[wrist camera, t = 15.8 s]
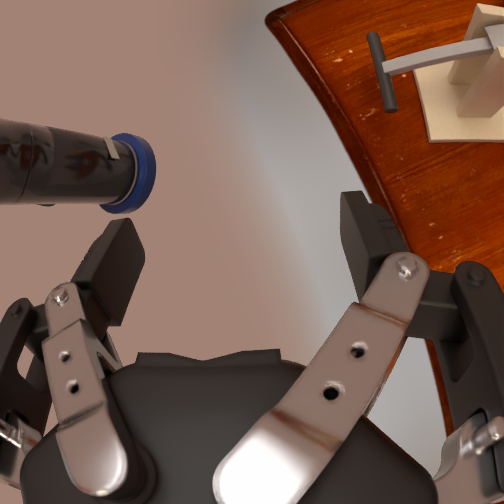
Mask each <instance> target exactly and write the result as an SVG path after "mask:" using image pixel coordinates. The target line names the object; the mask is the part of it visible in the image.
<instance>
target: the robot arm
mask: <svg viewBox="0 0 504 504" xmlns="http://www.w3.org/2000/svg"><path fill="white" fill-rule="evenodd" d="M138 176H139V159H138V155H137V153H136V151H135V149H134V148H133V146H132V145H130V144H129V143H127V142H124V141H116V140H112V139H111V138H108V137H104V138H103V137H98V136H94V135H89V134H84V133H79V132H74V131H69V130H64V129H58V128H53V127H47V126H41V125H35V124H29V123H23V122H17V121H12V120H7V119H1V118H0V205H13V204H14V205H15V204H16V205H19V204H38V205H42V206H53V205H55V204H108V205H118V204H121V203H123V202H124V201H126V200H127V199H128V198H129V197H130V195H131V194H132V192H133V191H134V189H135V186H136V184H137V181H138ZM340 201H341V202H340V209H341V210H340V235H341V242H342V246H343V249H344V252H345V255H346V259H347V262H348V265H349V268H350V272H351V275H352V279H353V282H354V286H355V289H356V292H357V296H358V300H359V303H356V302H353V303H352V304H351V305H350V306H349V308H348V309H347V310H346V312H345V313H344V315H343V316H342V318H341V319H340V321H339V322H338V324H337V325H336V327H335V328H334V330H333V331H332V333H331V334H330V335H329V337H328V338H327V340H326V341H325V343H324V344H323V345H322V347H321V348H320V349H319V351H318V352H317V354H316V355H315V356H314V358H313V359H312V361H311V362H310V363H309V365H308V366H304V365H301V364H299V363H296V362H292V361H288V360H282V359H281V354H280V349H269V350H253V351H241V352H237V353H233V354H229V355H225V356H221V357H218V358H213V359H210V360H205V361H201V360H196V359H192V358H187V357H184V356H179V355H175V354H171V353H141V352H138V355H137V358H136V362H135V363H133V364H130V365H127V366H125V367H123V365H122V363H121V360H120V358H119V356H118V353H117V351H116V349H115V346H114V344H113V342H112V339H111V337H110V335H109V334H108V332H107V328H108V326H121V323H122V321H123V318H124V315H125V312H126V309H127V307H128V304H129V301H130V299H131V296H132V293H133V291H134V288H135V286H136V283H137V281H138V278H139V275H140V273H141V270H142V268H143V266H144V263H145V252H144V248H143V246H142V243H141V241H140V239H139V236H138V234H137V232H136V229H135V227H134V224H133V222H132V220H131V219H130V218H123V219H117V220H112V221H110V223H109V224H108V226H107V227H106V229H105V230H104V232H103V234H102V235H101V236H100V237H99V238H97V240H95V241H94V242H93V244H92V245H91V247H90V249H89V250H88V253H87V254H86V255H85V257H84V260H82V262H81V264H80V265H79V267H78V269H77V270H76V272H75V274H74V276H73V278H72V279H71V281H70V282H66V283H63V284H60V285H59V286H57V287H56V288H54V289H53V290H52V291H51V292H50V293H49V295H48V296H47V298H46V301H45V303H44V304H41V305H39V306H36V307H34V306H33V305H32V304H31V302H30V301H29V300H28V299H27V298H21V299H19V300H17V301H15V302H14V303H13V304H12V305H11V306H10V307H9V308H8V310H7V311H6V313H5V315H4V317H3V319H2V321H1V323H0V482H1V483H3V484H8V485H10V486H12V487H14V488H17V489H19V490H21V493H22V498H23V504H494V503H497V502H501V501H504V294H503V292H502V290H501V288H500V286H499V284H498V283H497V281H496V279H495V277H494V275H493V274H492V272H491V271H490V270H489V269H488V268H487V267H485V266H484V265H482V264H480V263H477V262H474V261H465V262H462V263H460V264H459V265H458V266H457V267H456V270H455V273H446V272H439V271H433V270H430V269H429V266H428V264H427V263H426V262H425V261H424V260H423V259H422V258H421V257H419V256H418V255H415V254H413V253H410V251H409V249H408V248H407V246H406V244H405V242H404V240H403V238H402V236H401V235H400V233H399V231H398V229H397V228H396V226H395V224H394V222H393V221H392V219H391V217H390V215H389V213H388V212H387V210H386V209H384V208H383V207H382V206H380V205H379V204H377V203H370V204H369V203H368V201H367V199H366V197H365V195H364V193H363V192H362V191H349V192H342V193H341V199H340ZM408 337H415V338H423V339H431V340H433V343H434V347H435V350H436V354H437V357H438V361H439V365H440V369H441V372H442V376H443V380H444V384H445V389H446V393H447V397H448V402H449V407H450V411H451V416H452V421H453V427H454V432H453V433H452V434H451V435H450V436H449V437H448V438H447V439H446V441H445V443H444V445H443V448H442V455H441V465H440V468H439V470H438V472H437V474H436V475H435V476H434V478H432V477H431V475H430V474H429V473H428V471H427V470H426V469H425V468H424V467H423V466H421V465H420V464H419V463H418V462H417V461H416V460H414V459H413V458H412V457H411V456H410V455H409V454H407V453H406V452H405V451H404V450H403V449H402V448H401V447H399V446H398V445H397V444H396V443H395V442H394V441H393V440H391V439H390V438H389V437H388V436H387V435H386V434H385V433H384V432H382V431H381V430H380V429H379V428H378V427H377V426H376V425H375V424H373V423H372V422H371V421H370V420H369V419H368V418H367V416H368V414H369V412H370V411H371V409H372V407H373V406H374V404H375V402H376V400H377V398H378V396H379V395H380V393H381V391H382V389H383V386H384V384H385V383H386V381H387V379H388V376H389V375H390V373H391V371H392V369H393V367H394V365H395V363H396V361H397V359H398V357H399V355H400V353H401V350H402V348H403V346H404V344H405V342H406V340H407V338H408ZM24 345H25V346H26V347H27V348H28V349H29V350H30V351H31V352H32V353H33V354H34V357H33V360H32V362H31V365H30V368H29V371H28V373H27V376H26V379H24V378H23V377H22V376H21V375H20V374H19V372H18V369H17V362H18V359H19V357H20V354H21V352H22V350H23V347H24ZM52 400H53V404H54V408H55V412H56V416H57V419H58V424H57V425H56V426H55V427H54V428H53V429H52V430H51V431H50V432H48V433H47V434H46V435H45V436H44V437H43V435H44V431H45V427H46V422H47V419H48V415H49V411H50V407H51V404H52Z"/></svg>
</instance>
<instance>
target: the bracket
mask: <svg viewBox="0 0 504 504" xmlns="http://www.w3.org/2000/svg"><path fill="white" fill-rule="evenodd" d="M500 24H504V8H503V7H497V6H491V5H485V4H477V5H476V8H475V11H474V13H473V16H472V19H471V21H470V24H469V27H468V29H467V32H466V34H465V37H464V39H463V41H468V40H473V39H479V38H484V37H488V36H487V33H486V30H485V27H487V26H493V25H500ZM412 71H413V74H414V78H415V81H416V85H417V89H418V93H419V97H420V101H421V106H422V110H423V115H424V119H425V124H426V129H427V134H428V140H429V143H434V142H502V143H504V47H501V46H497V47H496V49H495V50H494V52H493V54H487V55H480V56H475V57H469V58H464V59H459V60H454V61H449V62H444V63H440V64H435V65H431V66H427V67H423V68H419V69H415V70H412Z"/></svg>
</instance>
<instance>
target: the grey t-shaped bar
mask: <svg viewBox="0 0 504 504" xmlns="http://www.w3.org/2000/svg"><path fill="white" fill-rule="evenodd" d="M485 30H486V33H487V36H488V37H484V38H479V39H473V40H468V41H463V42H458V43H453V44H449V45H444V46H440V47H436V48H432V49H428V50H424V51H420V52H416V53H413V54H409V55H405V56H402V57H398V58H395V59H392V60H388V61H386V58H385V54H384V51H383V47H382V44H381V41H380V38H379V35H378V34H377V33H375V32H371V33H368V34H367V35H366V37H367V41H368V44H369V47H370V51H371V55H372V58H373V62H374V66H375V70H376V74H377V78H378V82H379V87H380V91H381V95H382V100H383V105H384V110H385V112H386V113H395V112H397V111H398V106H397V101H396V97H395V93H394V88H393V84H392V80H391V76H393V75H396V74H400V73H403V72H407V71H411V70H415V69H419V68H423V67H427V66H431V65H435V64H440V63H444V62H449V61H454V60H459V59H464V58H469V57H475V56H480V55H487V54H493V52H494V50H495V49H496V47H497V46H501V47H504V24H500V25H493V26H487V27H485Z"/></svg>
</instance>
